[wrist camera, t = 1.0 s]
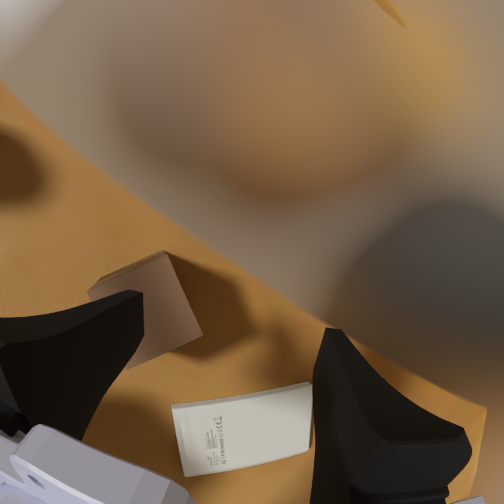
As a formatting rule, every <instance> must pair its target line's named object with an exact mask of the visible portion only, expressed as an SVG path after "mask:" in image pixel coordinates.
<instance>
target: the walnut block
mask: <svg viewBox="0 0 504 504" xmlns="http://www.w3.org/2000/svg"><path fill="white" fill-rule="evenodd" d="M129 289H131V290H135V291H139V292H143V308H144V334H145V335H144V337H143V339H142V341H141V343H140V345H139V346H138V348H137V350H136V352H135V354H134V355H133V356H132V358H131V359H130V360H129V362H128V363H127V364H126V368H127V370H128V369H130V368H132V367H135V366H137V365H139V364H142V363H144V362H146V361H148V360H151V359H153V358H155V357H157V356H160V355H162V354H164V353H166V352H169V351H171V350H173V349H175V348H177V347H180V346H182V345H184V344H186V343H188V342H191V341H193V340H195V339H197V338H199V337H201V336H203V333H202V330H201V328H200V326H199V324H198V322H197V320H196V318H195V316H194V313H193V311H192V309H191V307H190V305H189V303H188V300H187V298H186V296H185V294H184V291H183V289H182V287H181V285H180V282H179V280H178V278H177V276H176V273H175V271H174V269H173V266H172V264H171V262H170V259H169V257H168V255H167V254H166V253H165V252H164V251H163V250H162V251H159V252H157V253H155V254H153V255H150V256H148V257H146V258H144V259H141V260H139V261H137V262H135V263H132V264H130V265H128V266H126V267H123V268H121V269H119V270H117V271H115V272H112V273H110V274H108V275H106V276H104V277H101V278H100V279H99V280H98V281H97V282H96V283H95V284H94V285H93V286H92V287H91V288H90V289H89V290H88V291H87V293H88V295H89V297H90V299H91V301H92V302H93V301H95V300H98V299H101V298H104V297H107V296H110V295H112V294H115V293H118V292H121V291H125V290H129Z"/></svg>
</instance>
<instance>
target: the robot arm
mask: <svg viewBox="0 0 504 504" xmlns="http://www.w3.org/2000/svg"><path fill="white" fill-rule="evenodd" d="M144 335H145V334H144V308H143V292H139V291H135V290H131V289H129V290H125V291H121V292H118V293H115V294H112V295H110V296H107V297H104V298H101V299H98V300H95V301H93V302H90V303H87V304H83V305H80V306H77V307H74V308H71V309H67V310H63V311H59V312H54V313H49V314H44V315H36V316H28V317H13V318H1V317H0V504H196V503H195V502H194V500H193V499H192V497H191V495H190V494H189V492H188V491H187V490H186V489H185V488H184V487H182V486H181V485H179V484H178V483H176V482H175V481H173V480H172V479H170V478H169V477H166V476H164V475H162V474H159V473H157V472H155V471H152V470H150V469H148V468H145V467H142V466H140V465H137V464H134V463H131V462H129V461H126V460H123V459H121V458H118V457H116V456H113V455H111V454H108V453H106V452H104V451H101V450H99V449H97V448H94V447H92V446H90V445H88V444H86V443H84V442H81V440H82V438H83V436H84V433H85V431H86V429H87V427H88V425H89V423H90V421H91V419H92V417H93V414H94V412H95V411H96V409H97V407H98V405H99V403H100V401H101V400H102V398H103V396H104V395H105V393H106V392H107V390H108V389H109V387H110V386H111V384H112V383H113V382H114V380H115V379H116V378H117V376H118V375H119V374H120V372H121V371H122V370H123V368H124V367H125V366H126V364H127V363H128V362H129V360H130V359H131V358H132V356H133V355H134V354H135V352H136V350H137V348H138V346H139V345H140V343H141V341H142V339H143V337H144ZM312 397H313V411H314V424H315V459H314V471H313V480H312V489H311V497H310V504H446V502H445V498H447V497H448V496H449V490H448V486H447V485H448V484H449V483H450V482H451V481H452V480H453V479H454V478H455V477H456V476H457V475H458V474H459V473H460V472H461V471H462V470H463V469H464V467H465V466H466V465H467V463H468V462H469V460H470V458H471V455H472V447H471V445H470V442H469V440H468V438H467V435H466V433H465V431H464V428H463V427H460V426H458V425H456V424H453V423H451V422H449V421H446V420H444V419H441V418H439V417H437V416H435V415H434V414H432V413H430V412H428V411H426V410H424V409H423V408H421V407H420V406H418V405H416V404H415V403H413V402H412V401H410V400H409V399H408V398H406V397H405V396H403V395H402V394H401V393H399V392H398V391H397V390H396V389H395V388H393V387H392V386H391V385H390V384H389V383H388V382H386V381H385V380H384V379H383V378H382V377H381V376H380V375H379V374H378V373H377V372H376V371H375V370H374V369H373V368H372V367H371V365H370V364H369V363H368V362H367V361H366V360H365V359H364V357H363V356H362V355H361V354H360V353H359V351H358V350H357V349H356V348H355V346H354V345H353V344H352V342H351V341H350V340H349V339H348V337H347V336H346V335H345V333H344V332H343V331H342V330H340V329H333V328H326V329H325V332H324V336H323V339H322V342H321V346H320V349H319V353H318V356H317V359H316V362H315V366H314V369H313V383H312ZM451 504H485V502H484V499H483V496H477V497H473V498H469V499H464V500H460V501H457V502H454V503H451Z"/></svg>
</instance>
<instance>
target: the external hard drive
mask: <svg viewBox="0 0 504 504" xmlns="http://www.w3.org/2000/svg"><path fill="white" fill-rule="evenodd" d="M312 399H313V397H312V385H311V384H310V383H309V382H308V381H307V382H303V383H298V384H294V385H289V386H285V387H280V388H276V389H271V390H266V391H260V392H255V393H250V394H244V395H238V396H232V397H226V398H219V399H212V400H205V401H197V402H189V403H179V404H171V408H172V414H173V420H174V426H175V431H176V437H177V442H178V448H179V453H180V458H181V463H182V468H183V473H184V477H191V476H198V475H205V474H212V473H218V472H224V471H229V470H235V469H240V468H245V467H249V466H254V465H258V464H263V463H267V462H271V461H275V460H279V459H282V458H286V457H290V456H293V455H297V454H300V453H303V452H307V451H308V449H309V440H310V428H311V415H312Z"/></svg>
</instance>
